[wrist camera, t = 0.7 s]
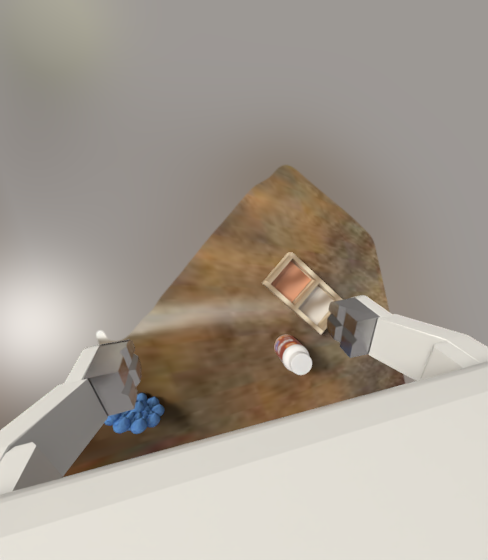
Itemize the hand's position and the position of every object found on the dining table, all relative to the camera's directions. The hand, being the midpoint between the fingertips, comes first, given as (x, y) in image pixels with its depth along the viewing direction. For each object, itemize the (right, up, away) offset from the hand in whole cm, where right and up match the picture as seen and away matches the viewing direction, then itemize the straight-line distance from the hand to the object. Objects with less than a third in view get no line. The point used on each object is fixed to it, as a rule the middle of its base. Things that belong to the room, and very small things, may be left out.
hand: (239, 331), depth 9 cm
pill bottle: (+11, -15, +50) cm, 53 cm away
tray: (+15, -1, +49) cm, 52 cm away
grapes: (-24, -27, +46) cm, 58 cm away
